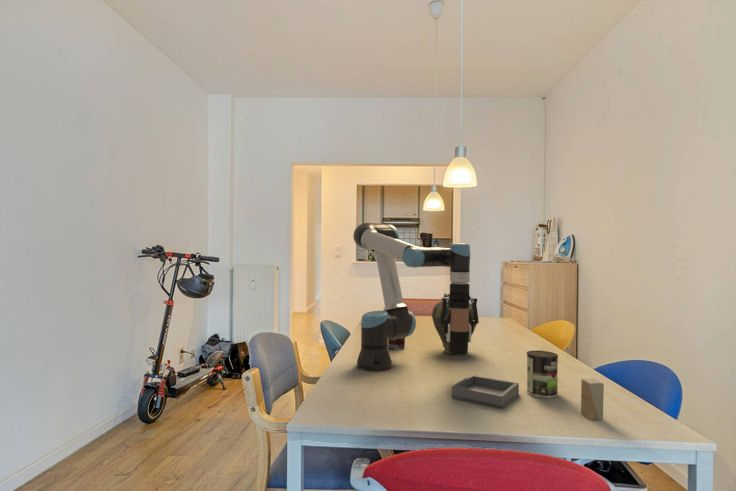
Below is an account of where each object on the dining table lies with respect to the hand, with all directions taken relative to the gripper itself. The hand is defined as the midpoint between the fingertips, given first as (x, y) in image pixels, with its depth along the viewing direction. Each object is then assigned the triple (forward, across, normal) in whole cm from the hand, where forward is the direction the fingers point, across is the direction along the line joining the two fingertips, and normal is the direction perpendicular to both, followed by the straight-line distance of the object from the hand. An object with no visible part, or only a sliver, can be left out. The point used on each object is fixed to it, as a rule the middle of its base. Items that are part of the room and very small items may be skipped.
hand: (458, 341), depth 170 cm
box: (+14, +30, -40) cm, 52 cm away
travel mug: (+4, 0, 0) cm, 4 cm away
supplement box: (+16, -16, +56) cm, 61 cm away
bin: (+15, +4, -20) cm, 25 cm away
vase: (+16, +11, +45) cm, 49 cm away
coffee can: (+15, +25, -18) cm, 34 cm away
